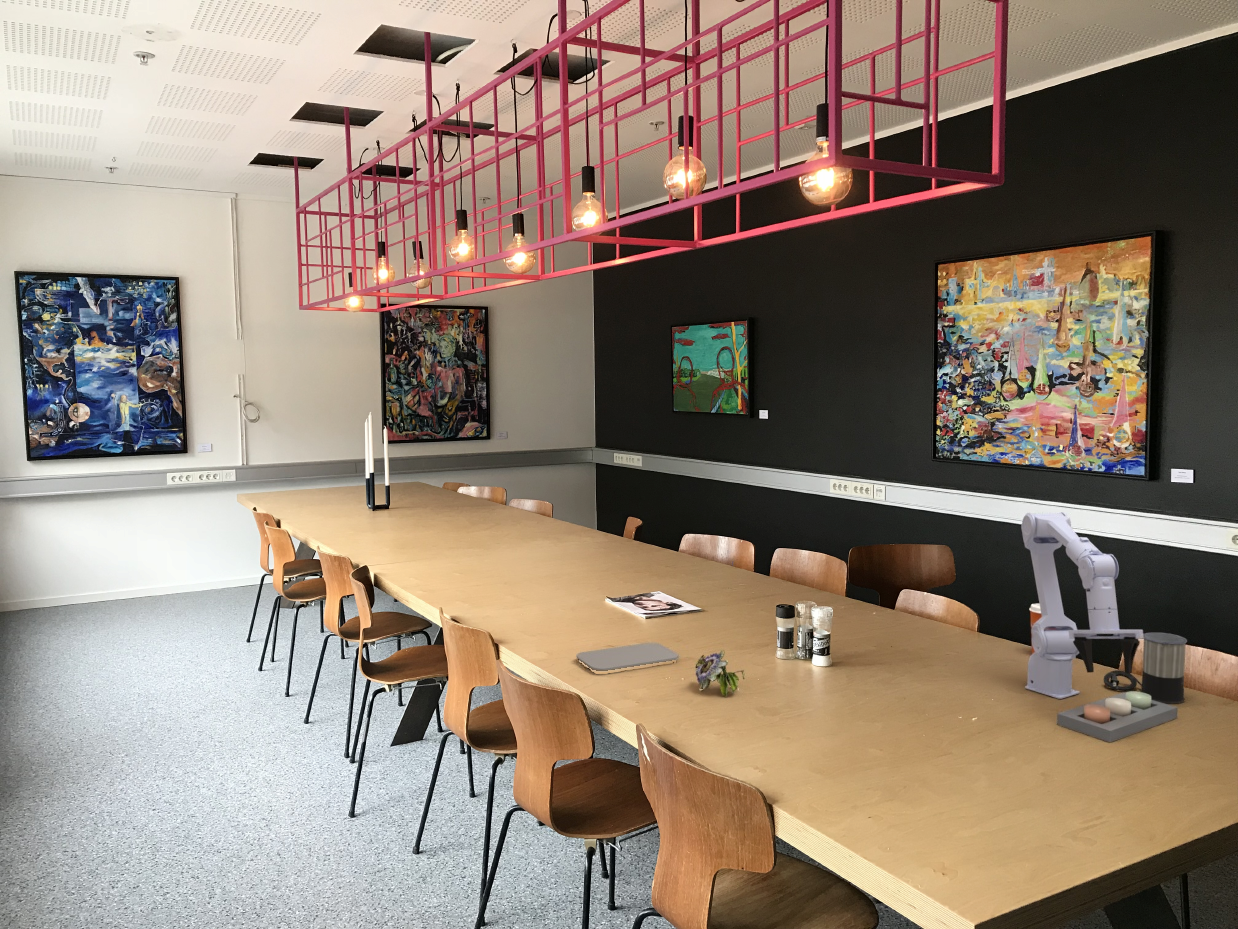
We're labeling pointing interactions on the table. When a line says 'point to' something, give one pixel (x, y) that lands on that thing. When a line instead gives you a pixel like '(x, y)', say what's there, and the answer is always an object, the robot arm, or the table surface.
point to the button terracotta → (1097, 713)
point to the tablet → (626, 656)
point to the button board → (1117, 720)
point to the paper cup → (1035, 617)
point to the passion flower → (716, 673)
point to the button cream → (1118, 706)
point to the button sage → (1139, 699)
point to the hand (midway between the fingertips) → (1109, 672)
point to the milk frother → (1158, 669)
